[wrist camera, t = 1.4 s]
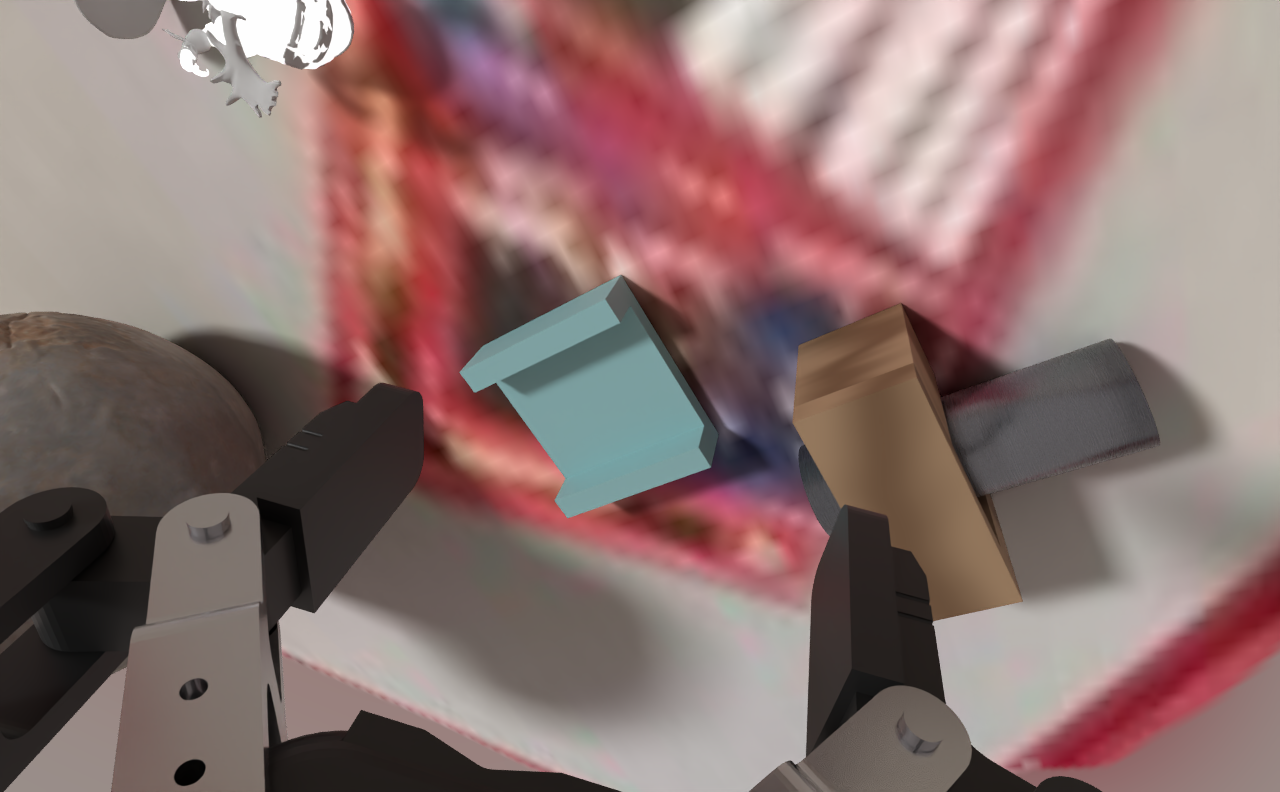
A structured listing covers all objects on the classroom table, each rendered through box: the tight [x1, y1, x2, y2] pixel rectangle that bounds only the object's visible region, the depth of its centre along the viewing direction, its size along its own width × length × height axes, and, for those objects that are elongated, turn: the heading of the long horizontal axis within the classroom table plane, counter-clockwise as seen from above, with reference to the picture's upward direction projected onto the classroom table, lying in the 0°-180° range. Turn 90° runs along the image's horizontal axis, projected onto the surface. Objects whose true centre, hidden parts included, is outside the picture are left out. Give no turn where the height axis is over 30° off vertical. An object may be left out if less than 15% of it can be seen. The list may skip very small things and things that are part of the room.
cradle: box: [460, 275, 719, 518], centre depth 38 cm, size 9×10×3 cm
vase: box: [0, 312, 266, 674], centre depth 36 cm, size 20×19×25 cm
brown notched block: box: [793, 303, 1023, 621], centre depth 33 cm, size 5×12×7 cm, turn 31°
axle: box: [799, 339, 1160, 535], centre depth 34 cm, size 14×5×5 cm, turn 121°
